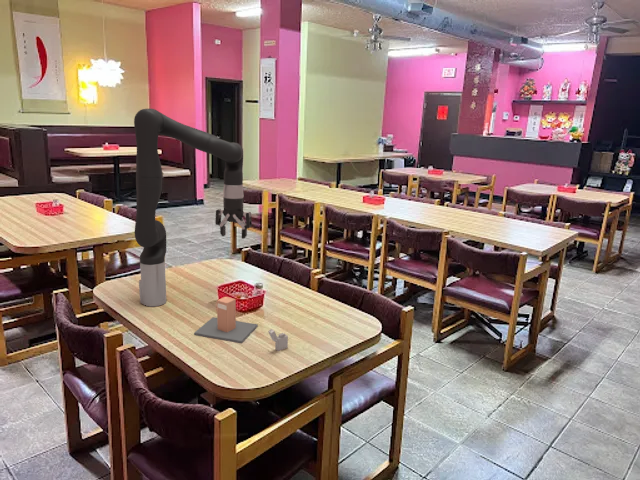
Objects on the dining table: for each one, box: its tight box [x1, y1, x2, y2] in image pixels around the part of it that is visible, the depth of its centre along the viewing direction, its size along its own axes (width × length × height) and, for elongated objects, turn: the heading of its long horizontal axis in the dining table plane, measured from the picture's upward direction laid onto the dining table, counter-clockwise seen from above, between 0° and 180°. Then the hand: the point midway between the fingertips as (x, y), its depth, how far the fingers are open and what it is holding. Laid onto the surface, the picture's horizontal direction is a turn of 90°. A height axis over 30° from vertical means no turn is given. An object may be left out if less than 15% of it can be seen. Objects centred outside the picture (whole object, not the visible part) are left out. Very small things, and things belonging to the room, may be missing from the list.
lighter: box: [267, 328, 289, 352], centre depth 160 cm, size 7×2×8 cm, turn 132°
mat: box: [194, 316, 259, 344], centre depth 173 cm, size 18×14×1 cm
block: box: [216, 296, 237, 332], centre depth 171 cm, size 4×5×11 cm
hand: (233, 236), depth 189 cm, fingers open, 8 cm apart
